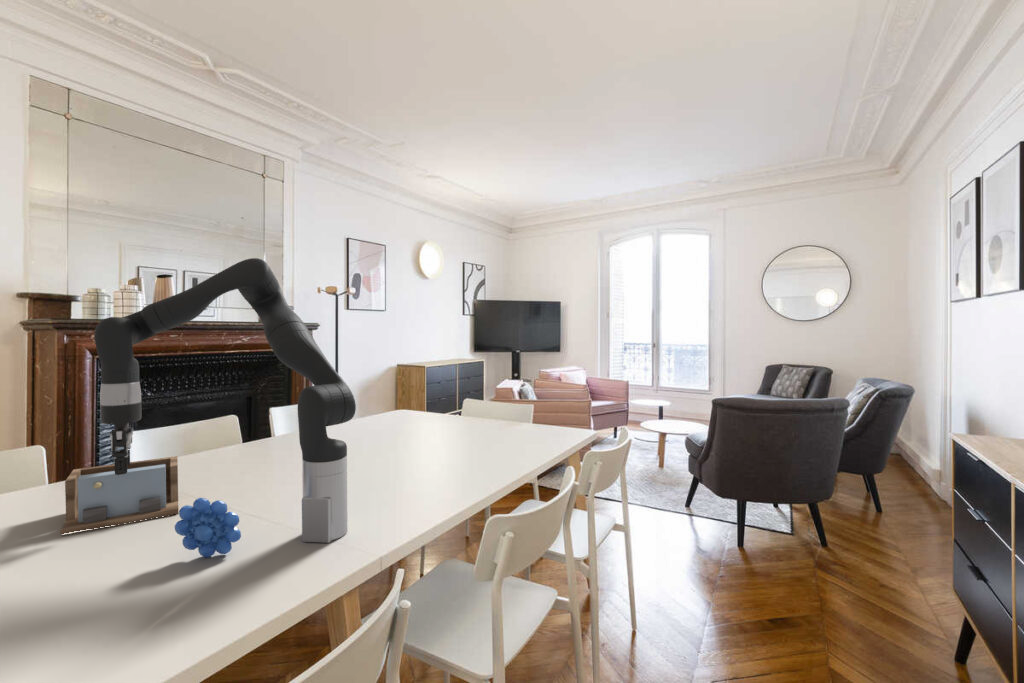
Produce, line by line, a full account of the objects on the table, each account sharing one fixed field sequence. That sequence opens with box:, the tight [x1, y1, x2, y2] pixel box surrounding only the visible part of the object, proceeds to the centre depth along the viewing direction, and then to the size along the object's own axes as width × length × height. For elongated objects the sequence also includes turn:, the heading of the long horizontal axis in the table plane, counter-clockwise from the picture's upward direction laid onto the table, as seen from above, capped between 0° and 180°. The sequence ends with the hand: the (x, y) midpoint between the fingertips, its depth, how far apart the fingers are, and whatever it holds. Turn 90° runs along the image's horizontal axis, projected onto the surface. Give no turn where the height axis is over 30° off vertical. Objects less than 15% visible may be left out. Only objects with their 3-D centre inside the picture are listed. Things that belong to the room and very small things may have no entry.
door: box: [77, 464, 166, 523], centre depth 112 cm, size 4×16×10 cm, turn 126°
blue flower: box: [174, 497, 242, 558], centre depth 94 cm, size 12×7×12 cm, turn 104°
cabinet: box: [60, 456, 179, 535], centre depth 116 cm, size 17×21×10 cm
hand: (122, 469), depth 112 cm, fingers open, 8 cm apart
